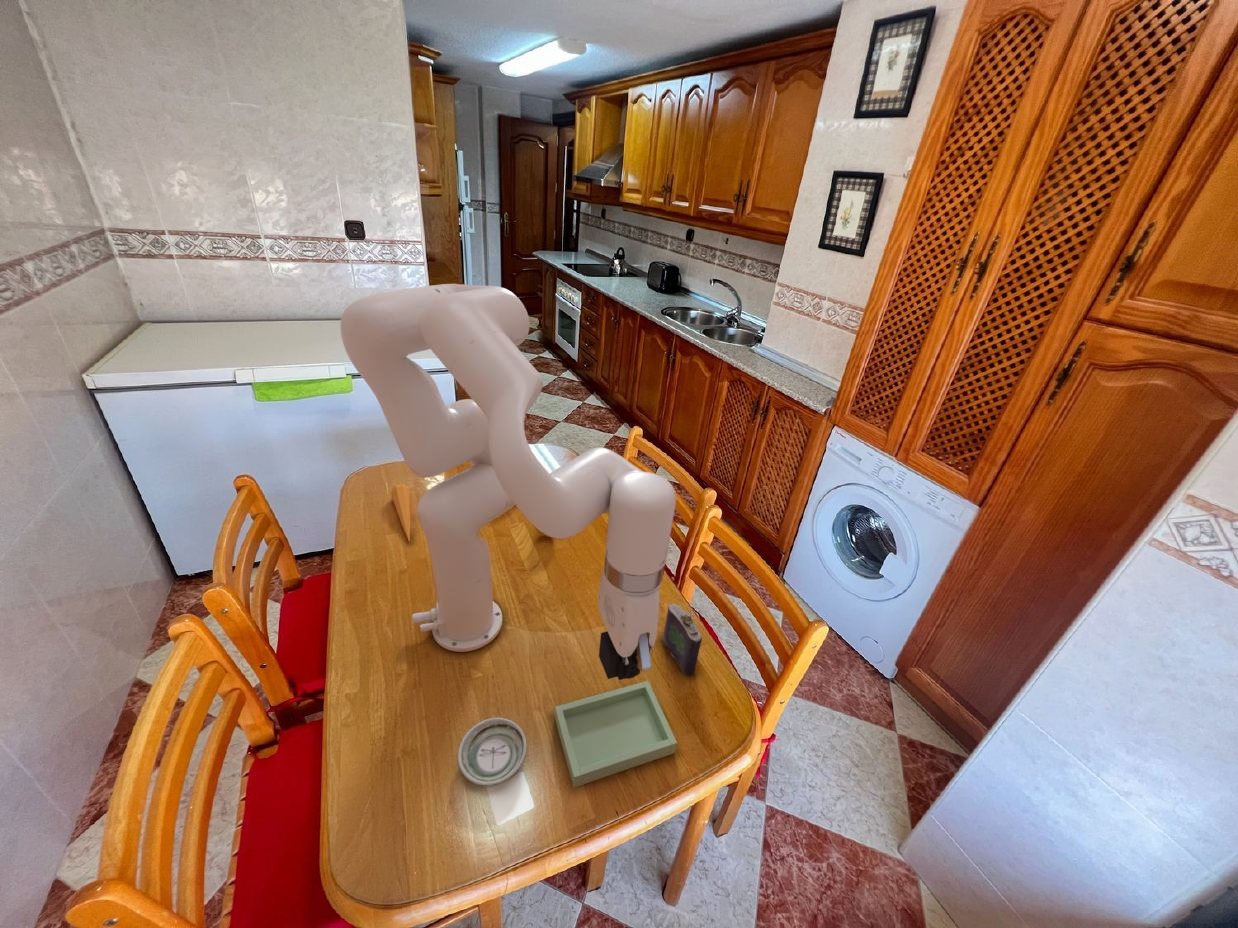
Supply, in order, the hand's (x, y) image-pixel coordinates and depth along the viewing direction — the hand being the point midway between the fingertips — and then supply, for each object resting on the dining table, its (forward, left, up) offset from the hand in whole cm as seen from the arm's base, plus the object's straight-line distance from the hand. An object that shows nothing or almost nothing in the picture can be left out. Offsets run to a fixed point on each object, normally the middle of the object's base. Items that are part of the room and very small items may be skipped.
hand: (622, 661), depth 71 cm
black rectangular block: (0, 0, 0) cm, 0 cm away
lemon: (0, +48, -15) cm, 51 cm away
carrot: (-31, +63, -15) cm, 72 cm away
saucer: (-19, 0, -15) cm, 24 cm away
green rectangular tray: (-1, -2, -15) cm, 15 cm away
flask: (+16, +9, -15) cm, 24 cm away
